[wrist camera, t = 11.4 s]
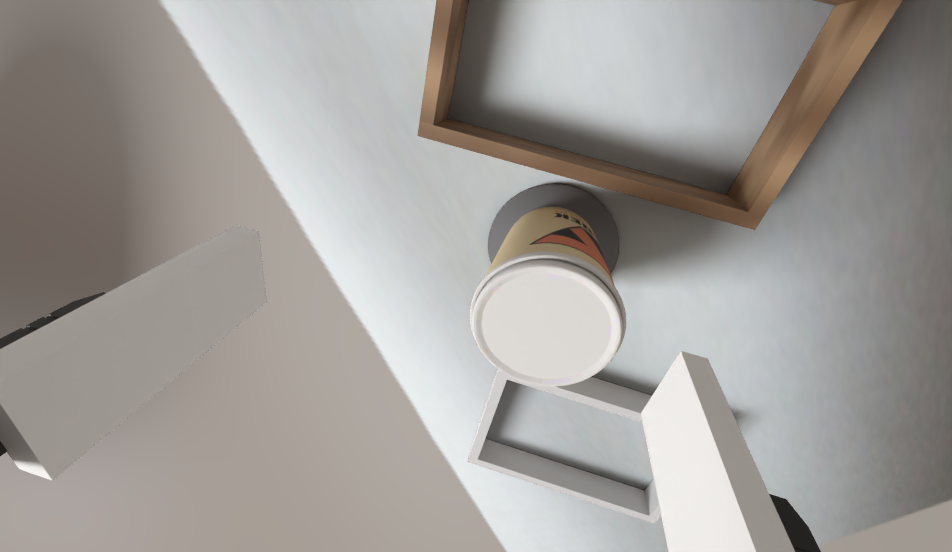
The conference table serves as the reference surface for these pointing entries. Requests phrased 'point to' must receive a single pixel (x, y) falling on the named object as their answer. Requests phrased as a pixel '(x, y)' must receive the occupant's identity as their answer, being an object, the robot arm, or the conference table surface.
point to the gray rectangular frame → (561, 474)
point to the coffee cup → (548, 302)
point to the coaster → (565, 199)
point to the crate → (760, 180)
